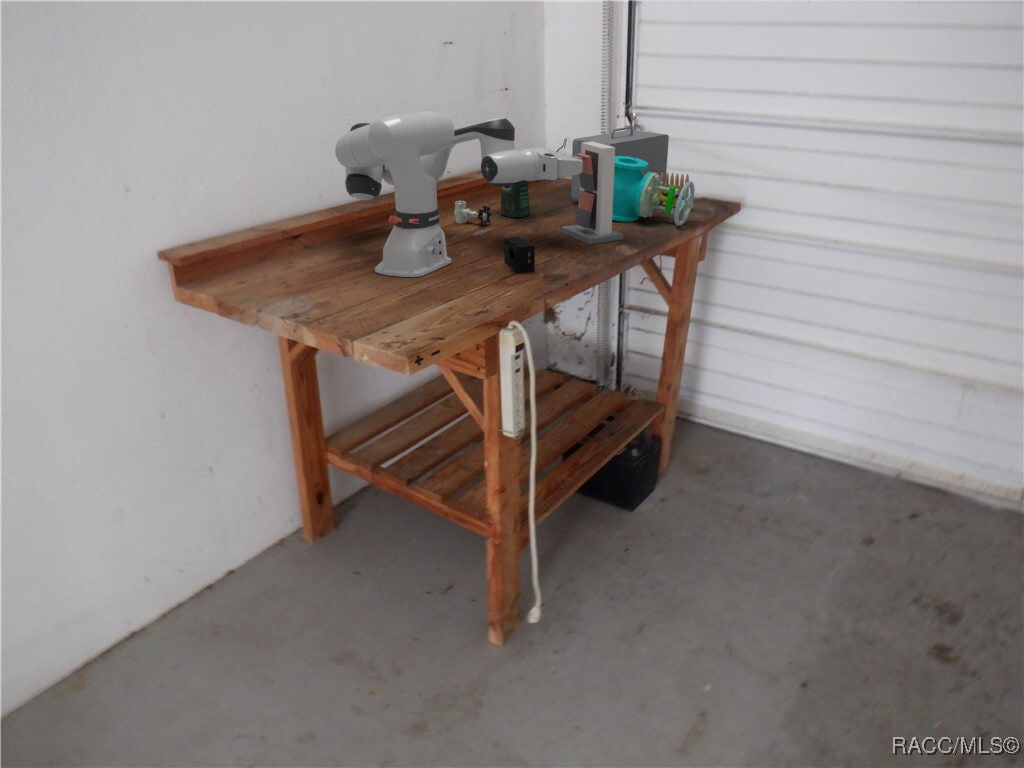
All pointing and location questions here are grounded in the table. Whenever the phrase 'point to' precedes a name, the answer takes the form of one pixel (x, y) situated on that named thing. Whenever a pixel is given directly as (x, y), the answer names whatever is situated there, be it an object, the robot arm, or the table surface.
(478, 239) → the table surface
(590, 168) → the upper rocker
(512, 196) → the coffee jar
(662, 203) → the ammunition clip
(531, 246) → the digital camera
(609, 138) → the vintage electronic device
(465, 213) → the valve
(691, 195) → the valve
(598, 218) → the tower
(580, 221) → the lower rocker
